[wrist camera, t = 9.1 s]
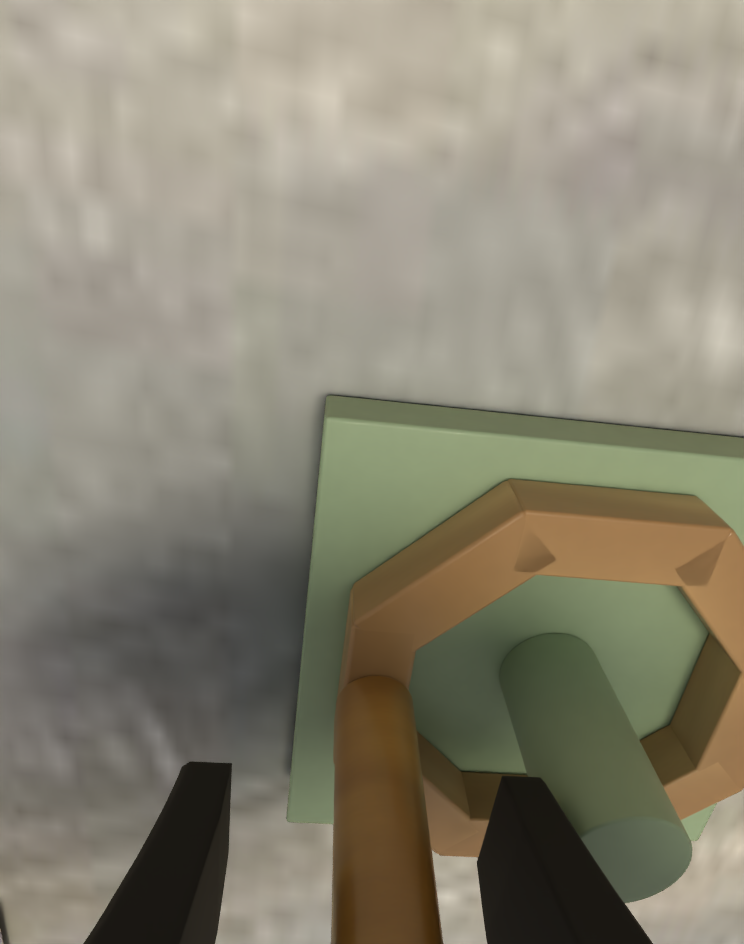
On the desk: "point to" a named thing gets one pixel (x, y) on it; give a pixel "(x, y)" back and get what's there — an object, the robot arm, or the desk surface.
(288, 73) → the desk surface
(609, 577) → the maple ring
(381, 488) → the peg stand
